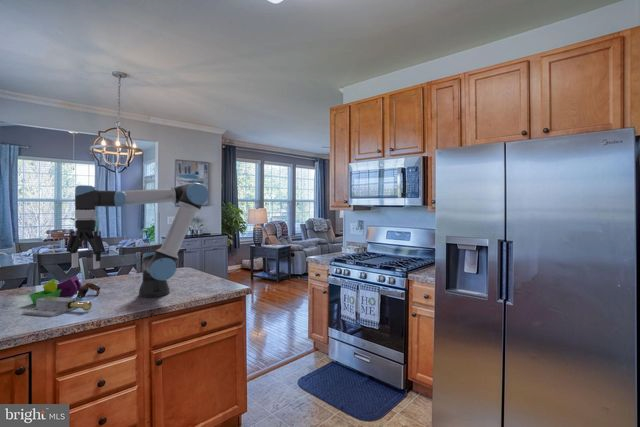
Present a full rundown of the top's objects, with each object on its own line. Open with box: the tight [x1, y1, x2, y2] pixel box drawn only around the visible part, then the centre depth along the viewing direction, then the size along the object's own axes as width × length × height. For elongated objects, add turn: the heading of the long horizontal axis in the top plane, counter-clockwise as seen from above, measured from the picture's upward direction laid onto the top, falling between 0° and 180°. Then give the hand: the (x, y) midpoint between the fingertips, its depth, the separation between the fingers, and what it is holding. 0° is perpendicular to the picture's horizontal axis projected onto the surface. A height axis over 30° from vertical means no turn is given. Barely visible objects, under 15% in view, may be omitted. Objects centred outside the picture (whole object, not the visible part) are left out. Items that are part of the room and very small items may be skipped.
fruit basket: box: [29, 278, 61, 305], centre depth 164 cm, size 11×9×11 cm
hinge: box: [21, 296, 86, 318], centre depth 152 cm, size 16×18×5 cm
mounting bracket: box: [57, 275, 82, 298], centre depth 176 cm, size 9×8×18 cm
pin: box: [68, 301, 93, 311], centre depth 151 cm, size 18×4×4 cm, turn 80°
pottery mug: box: [76, 282, 101, 299], centre depth 174 cm, size 12×9×8 cm
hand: (85, 267), depth 149 cm, fingers open, 11 cm apart
